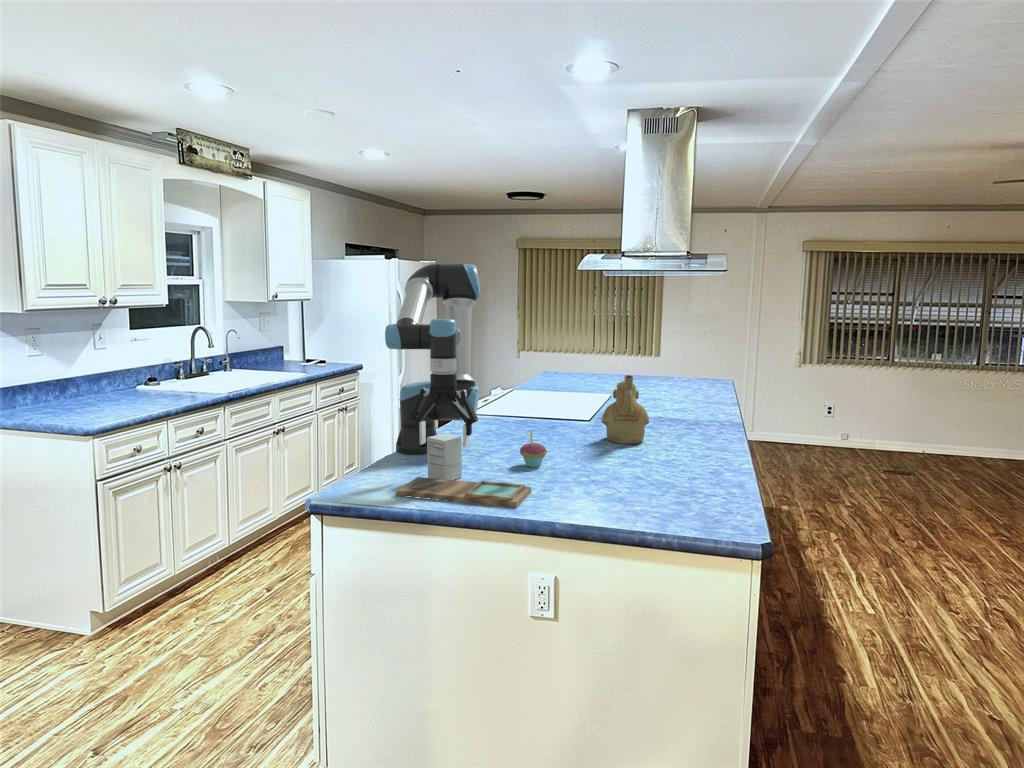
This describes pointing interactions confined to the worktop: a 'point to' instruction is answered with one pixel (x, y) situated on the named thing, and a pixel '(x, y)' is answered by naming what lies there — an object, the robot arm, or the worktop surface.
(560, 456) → the worktop surface
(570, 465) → the worktop surface
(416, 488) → the board
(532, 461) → the cupcake
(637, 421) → the ceramic vessel
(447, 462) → the supplement box
